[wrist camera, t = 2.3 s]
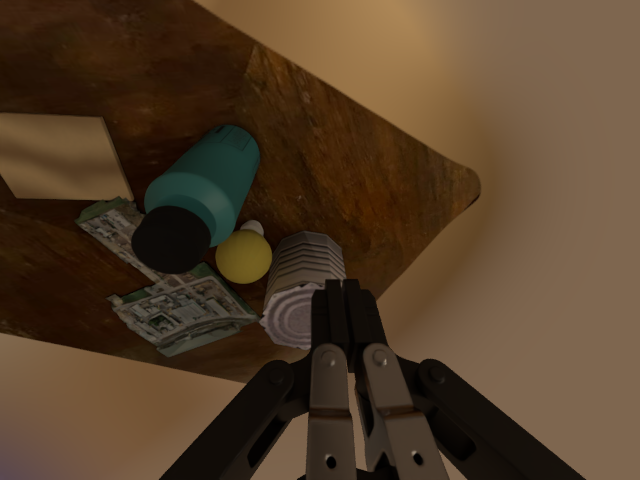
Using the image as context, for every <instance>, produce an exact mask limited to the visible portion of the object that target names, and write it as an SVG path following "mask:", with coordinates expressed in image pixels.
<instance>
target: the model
mask: <svg viewBox="0 0 640 480" xmlns="http://www.w3.org/2000/svg"><path fill="white" fill-rule="evenodd" d="M145 216H146V215H145V214H141V213H140V211H138V210H137V208H136V202H132V201H129V200H128V199H127V198H124V199H122V198H121V197H120V196H118V197H116V198H114V199H112V200H110V201H108V202H107V203H106V202H105V201H104V200H103V199H102V200H100V201H99V202H97V203H95V204H93V205H91V206H90V207H88V208H86V209H84V210H82V211H81V214H80V217H79V218H77V219H76V220H74V221H75V223H76V224H77V225H79V226H80V227H81V228H83V229H84V230H86V231H87V232H88V233H90V234H91V235H92V236H93V237H95V238H96V239H97V240H98V241H100V242H101V243H102V244H103V245H105V246H106V247H107V248H108V249H110V250H111V251H112V252H113V253H115V254H116V255H117V256H118V257H120V258H121V259H122V260H123V261H125V262H126V263H127V264H128V262H129V263H131V264H132V265H133V266H135V267H136V268H138V269H139V270H140V271H141V272H143V273H144V274H145V275H146V276H147V277H149V278H150V279H151V280H152V281H154V282H155V285H153V286H151V287H148V286H147V287H145V288H143V289H141V290H138V291H136V292H134V293H131V294H129V295H127V296H123V297H122V298H119V297H118V296H117V295H115V294H114V295H112V296H110V297H108V298H105V299H107V300H109V301H112V302H111V303H112V304H113V305H111V306H112V309H113V311H114V312H116V313H117V314H118V315H119V318H120V319H121V320H123V321H124V322H126V323H127V327H128V328H129V329H131V330H132V331H135V332H136V333H137V334H139V335H140V336H142V337H143V338H145V339H147V340H148V341H150V342H151V343H153V344H154V345H156V346H157V350H158V351H159V352H161V353H162V354H164V355H166V356H167V357H170V356H173V355H176V354H179V353H182V352H184V351H187V350H190V349H193V348H196V347H199V346H202V345H204V344H207V343H210V342H213V341H216V340H219V339H222V338H224V337H227V336H230V335H233V334H236V333H239V332H241V331H240V327H241V326H244V325H247V324H250V323H253V322H255V321H257V322H258V323H259V320H260V317H259V316H258V315H257V314H256V313H255V312H254V311H253V310H252V309H251V308H250V307H249V306H248V305H247V304H246V303H245V302H244V301H243V300H242V299H241V298H240V297H239V296H238V295H237V294H236V293H235V292H234V291H233V290H232V289H231V287H230V286H229V285H228V284H226V283H225V282H224V281H223V280H222V278H221V277H220V276H219V275H218V274H217V273H216V272H215V271H214V270H213V269H212V268H211V267H210V266H209V265H208V264H207V263H206V264H205V262H203V263H200V264H198V265H197V266H196V267H195V268H194V269H192V270H191V271H189V272H187V273H183V274H178V275H171V274H164V273H160V272H158V271H155V270H153V269H151V268H149V267H147V266H146V265H145V264H143V263H142V262H141V261H140V260H139V259H138V258H137V257H136V255H135V254H134V252H133V250H132V247H131V238H132V235H133V233H134V231H135V230H136V229H137V227H138V226H139V225H140V223H141V221H142V219H143V218H144V217H145ZM124 322H123V323H124Z"/></svg>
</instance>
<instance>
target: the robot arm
mask: <svg viewBox="0 0 640 480" xmlns="http://www.w3.org/2000/svg"><path fill="white" fill-rule="evenodd" d="M310 323H311V350H310V352H309V354H308V355H307V356H306V357H304V358H303V359H301V360H299V361H296V362H294V363H291V364H289V363H287V362H285V361H282V360H273V361H270V362H268V363H267V364H265V365H264V366H263V367H262V368H261V369H260V370H259V371H258V373H257V374H256V375H255V376H254V377H253V378H252V379H251V380H250V381H249V382H248V383H247V384H246V386H245V387H244V388H243V389H242V390H241V391H240V392H239V393H238V394H237V395H236V396H235V398H234V399H233V400H232V401H231V402H230V403H229V404H228V405H227V406H226V407H225V408H224V409H223V411H222V412H221V413H220V414H219V415H218V416H217V417H216V418H215V419H214V420H213V421H212V422H211V424H210V425H209V426H208V427H207V428H206V429H205V430H204V431H203V432H202V433H201V434H200V435H199V436H198V438H197V439H196V440H195V441H194V442H193V443H192V444H191V445H190V446H189V447H188V448H187V450H186V451H185V452H184V453H183V454H182V455H181V456H180V457H179V458H178V459H177V460H176V461H175V463H174V464H173V465H172V466H171V467H170V468H169V469H168V470H167V471H166V472H165V473H164V474H163V476H162V477H161V478H160V479H159V480H250V478H251V477H252V476H253V474H254V473H255V471H256V470H257V469H258V467H259V466H260V464H261V463H262V461H263V460H264V459H265V457H266V456H267V454H268V453H269V452H270V450H271V449H272V447H273V446H274V444H275V443H276V442H277V440H278V439H279V437H280V436H281V434H282V433H283V432H284V430H285V429H286V427H287V426H288V424H289V423H290V422H291V420H292V419H293V418H295V417H298V416H300V415H302V414H305V413H307V412H309V416H308V436H307V455H306V474H305V475H303V476H302V477H300V478H298V479H297V480H450V479H449V476H448V474H447V472H446V469H445V466H444V463H443V461H442V459H441V456H440V453H439V450H440V451H441V452H442V453H443V454H444V455H445V457H446V458H447V459H448V460H449V461H450V462H451V463H452V464H453V465H454V466H455V467H456V468H457V469H458V470H459V471H460V472H461V473H462V474H463V475H464V476H465V477H466V478H467V480H586V479H585V478H583V477H582V476H581V475H580V474H579V473H577V472H576V471H575V470H574V469H572V468H571V467H570V466H569V465H567V464H566V463H565V462H564V461H563V460H561V459H560V458H559V457H558V456H556V455H555V454H554V453H553V452H552V451H550V450H549V449H548V448H547V447H545V446H544V445H543V444H542V443H541V442H539V441H538V440H537V439H535V438H534V437H533V436H532V435H531V434H529V433H528V432H527V431H526V430H525V429H523V428H522V427H521V426H520V425H518V424H517V423H516V422H515V421H514V420H512V419H511V418H510V417H508V416H507V415H506V414H505V413H504V412H502V411H501V410H500V409H499V408H498V407H496V406H495V405H494V404H493V403H491V402H490V401H489V400H488V399H487V398H485V397H484V396H483V395H481V394H480V393H479V392H478V391H477V390H476V389H474V388H473V387H472V386H471V385H469V384H468V383H467V382H466V381H464V380H463V379H462V378H461V377H460V376H458V375H457V374H456V373H454V372H453V371H452V370H451V369H450V368H449V367H447V366H446V365H445V364H443V363H442V362H440V361H438V360H435V359H426V360H423V361H422V362H421V363H420V364H419V363H416V362H413V361H409V360H406V359H404V358H401V357H399V356H398V355H396V354H395V353H394V352H393V351H392V349H391V348H390V347H389V345H388V343H387V340H386V336H385V333H384V329H383V326H382V322H381V319H380V316H379V311H378V308H377V304H376V301H375V297H374V296H373V295H372V294H371V292H370V291H369V290H361V289H360V285H359V281H358V279H343V282H342V288H341V282H340V279H325V287H324V289H315V291H314V293H313V295H312V297H311V315H310ZM346 360H347V367H348V372H349V373H355V380H356V383H355V389H354V390H355V396H356V400H357V405H358V410H359V415H360V420H361V425H362V430H363V434H364V441H365V458H366V465H367V471H364V470H361V469H357V468H356V461H355V447H354V435H353V434H354V433H353V422H352V416H351V413H350V411H349V398H348V383H347V369H346V368H347V367H346ZM438 449H439V450H438Z"/></svg>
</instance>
